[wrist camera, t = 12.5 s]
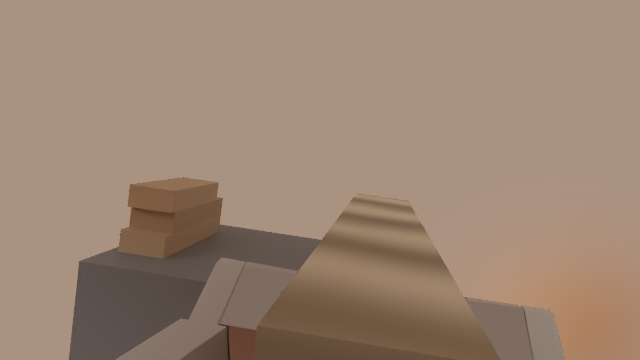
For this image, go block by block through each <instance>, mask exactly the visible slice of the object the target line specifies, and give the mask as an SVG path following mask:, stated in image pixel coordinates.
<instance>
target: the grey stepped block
mask: <svg viewBox="0 0 640 360" xmlns="http://www.w3.org/2000/svg"><path fill="white" fill-rule="evenodd" d="M217 190H218V183H217V182H210V181H203V180H197V179H190V178H175V179H168V180H161V181H153V182H146V183H138V184H131V185H130V189H129V199H128V207H132V208H131V217H130V226H129V227H128V228H125V229H122V230H121V233H120V243H119V247H117V248H114V249H112V250H109V251H106V252H103V253H101V254H98V255H95V256H93V257H90V258H87V259H84V260H81V261H79V270H78V280H77V289H76V298H75V307H74V317H73V326H72V337H71V346H70V355H69V360H116V359H117V358H119V357H120V356H122V355H124V354H125V353H127V352H128V351H130V350H132V349H133V348H135V347H136V346H138V345H139V344H141V343H143V342H144V341H146V340H147V339H149V338H151V337H152V336H154V335H155V334H157V333H159V332H160V331H162V330H163V329H165V328H167V327H168V326H170V325H171V324H173V323H175V322H176V321H178V320H179V319H187V320H189V318H190V316H191V314H192V311H193V309H194V307H195V305H196V303H197V301H198V299H199V297H200V295H201V293H202V291H203V289H204V287H205V285H206V283H207V281H208V279H209V277H210V275H211V273H212V271H213V268H214V266H215V264H216V262H218V261H219V260H220V259H221V258H227V259H233V260H238V261H243V262H252V263H258V264H263V265H269V266H274V267H280V268H285V269H290V270H296V271H299V269H300V268H301V267H302V265H303V264H304V263H305V261H306V260H307V259H308V257H309V256H310V255H311V253H312V252H313V251H314V249H315V248H316V247H317V246H318V244H319V243H320V242H321V240H318V239H311V238H304V237H298V236H291V235H285V234H278V233H272V232H265V231H258V230H251V229H245V228H239V227H232V226H225V225H219V224H220V215H221V207H222V198H217Z"/></svg>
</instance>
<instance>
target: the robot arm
mask: <svg viewBox="0 0 640 360" xmlns="http://www.w3.org/2000/svg"><path fill="white" fill-rule="evenodd" d="M297 273H298V271H296V270H290V269H285V268H280V267H274V266H269V265H263V264H258V263H252V262H243V261H238V260H233V259H227V258H221V259H220V260H219V261H218V262H216V264H215V266H214V268H213V271H212V273H211V275H210V277H209V279H208V281H207V283H206V285H205V287H204V289H203V291H202V293H201V295H200V297H199V299H198V301H197V303H196V305H195V307H194V309H193V311H192V314H191V316H190V318H189V320H187V319H179V320H178V321H176V322H175V323H173V324H171V325H170V326H168V327H167V328H165V329H163V330H162V331H160V332H159V333H157V334H155V335H154V336H152V337H151V338H149V339H147V340H146V341H144V342H143V343H141V344H139V345H138V346H136V347H135V348H133V349H132V350H130V351H128V352H127V353H125V354H124V355H122V356H120V357H119V358H117V359H116V360H253V354H254V346H255V338H256V330H257V325H258V324H259V322H260V321H261V320H262V319H263V317H264V316H265V315H266V313H267V312H268V311H269V309H270V308H271V307H272V305H273V304H274V303H275V301H276V300H277V299H278V297H279V296H280V295H281V293H282V292H283V291H284V289H285V288H286V287H287V285H288V284H289V283H290V281H291V280H292V279H293V277H294V276H295V275H296V274H297ZM464 298H465V300H466V301H467V303H468V304H469V306H470V308H471V310H472V311H473V313H474V315H475V316H476V318H477V320H478V322H479V323H480V325H481V327H482V328H483V330H484V332H485V334H486V335H487V337H488V339H489V341H490V342H491V344H492V346H493V347H494V349H495V351H496V353H497V354H498V356H499V358H500V359H501V360H565V358H564V354H563V350H562V346H561V342H560V338H559V334H558V330H557V326H556V322H555V318H554V314H553V313H552V312H551V310H550V309H543V308H536V307H528V306H519V305H514V304H507V303H500V302H494V301H487V300H480V299H473V298H467V297H464Z"/></svg>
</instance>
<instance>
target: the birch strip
mask: <svg viewBox="0 0 640 360" xmlns="http://www.w3.org/2000/svg"><path fill="white" fill-rule="evenodd" d="M253 360H501V359H500V358H499V356H498V354H497V353H496V351H495V349H494V347H493V346H492V344H491V342H490V341H489V339H488V337H487V335H486V334H485V332H484V330H483V328H482V327H481V325H480V323H479V322H478V320H477V318H476V316H475V315H474V313H473V311H472V310H471V308H470V306H469V304H468V303H467V301H466V300H465V298H464V296H463V294H462V292H461V291H460V289H459V288H458V286H457V284H456V282H455V280H454V279H453V277H452V275H451V274H450V272H449V270H448V269H447V267H446V265H445V263H444V262H443V260H442V258H441V256H440V255H439V253H438V251H437V250H436V248H435V246H434V244H433V243H432V241H431V239H430V238H429V236H428V234H427V232H426V231H425V229H424V227H423V226H422V224H421V222H420V221H419V219H418V217H417V215H416V214H415V212H414V210H413V209H412V207H411V205H410V203H409V202H408V201H405V200H398V199H391V198H384V197H377V196H370V195H363V194H356V195H355V197H354V198H353V199H352V200H351V202H350V203H349V204H348V206H347V207H346V208H345V210H344V211H343V212H342V214H341V215H340V216H339V218H338V219H337V220H336V222H335V223H334V224H333V226H332V227H331V228H330V230H329V231H328V232H327V234H326V235H325V237H324V238H323V239H322V240H321V242H320V243H319V244H318V246H317V247H316V248H315V249H314V251H313V252H312V253H311V255H310V256H309V257H308V259H307V260H306V261H305V263H304V264H303V265H302V267H301V268H300V269H299V271H298V273H297V274H296V275H295V276H294V277H293V279H292V280H291V281H290V283H289V284H288V285H287V287H286V288H285V289H284V291H283V292H282V293H281V295H280V296H279V297H278V299H277V300H276V301H275V303H274V304H273V305H272V307H271V308H270V309H269V311H268V312H267V313H266V315H265V316H264V317H263V319H262V320H261V321H260V322H259V324H258V325H257V330H256V338H255V346H254V354H253Z"/></svg>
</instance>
